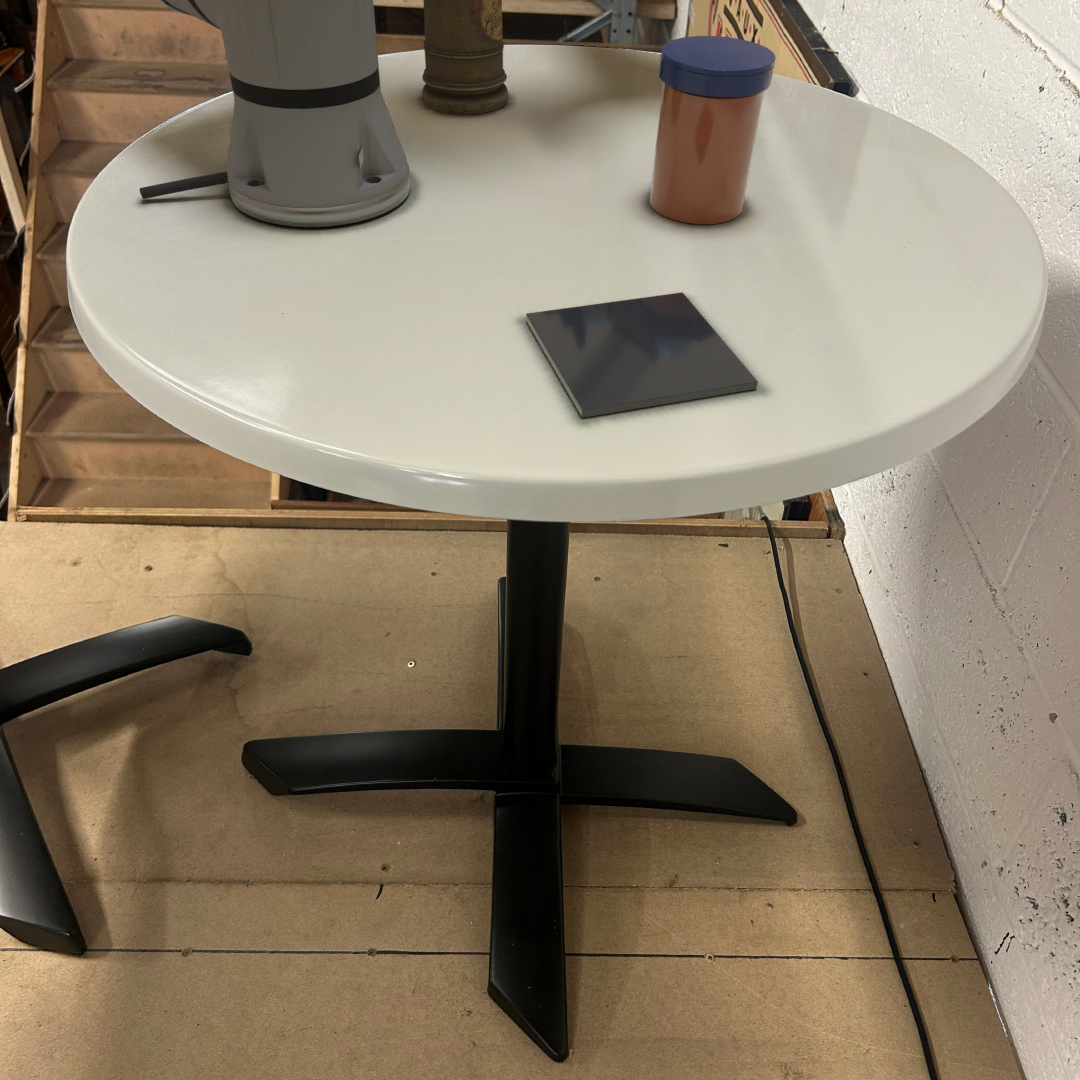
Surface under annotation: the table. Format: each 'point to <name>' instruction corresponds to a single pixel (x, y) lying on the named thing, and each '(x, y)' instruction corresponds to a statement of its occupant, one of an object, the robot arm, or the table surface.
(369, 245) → the table surface
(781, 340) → the table surface
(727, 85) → the lid
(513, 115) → the table surface
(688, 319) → the coaster
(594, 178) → the table surface
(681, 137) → the jar
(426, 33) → the container
